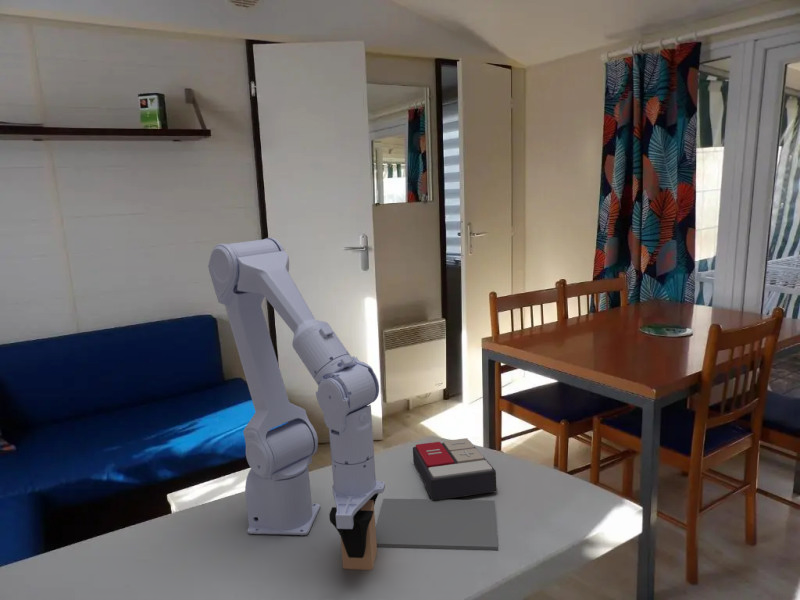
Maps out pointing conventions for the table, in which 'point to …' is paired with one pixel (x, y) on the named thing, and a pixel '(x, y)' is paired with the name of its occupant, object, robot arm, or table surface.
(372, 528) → the block
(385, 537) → the mat
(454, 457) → the calculator
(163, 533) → the table surface
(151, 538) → the table surface
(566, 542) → the table surface
